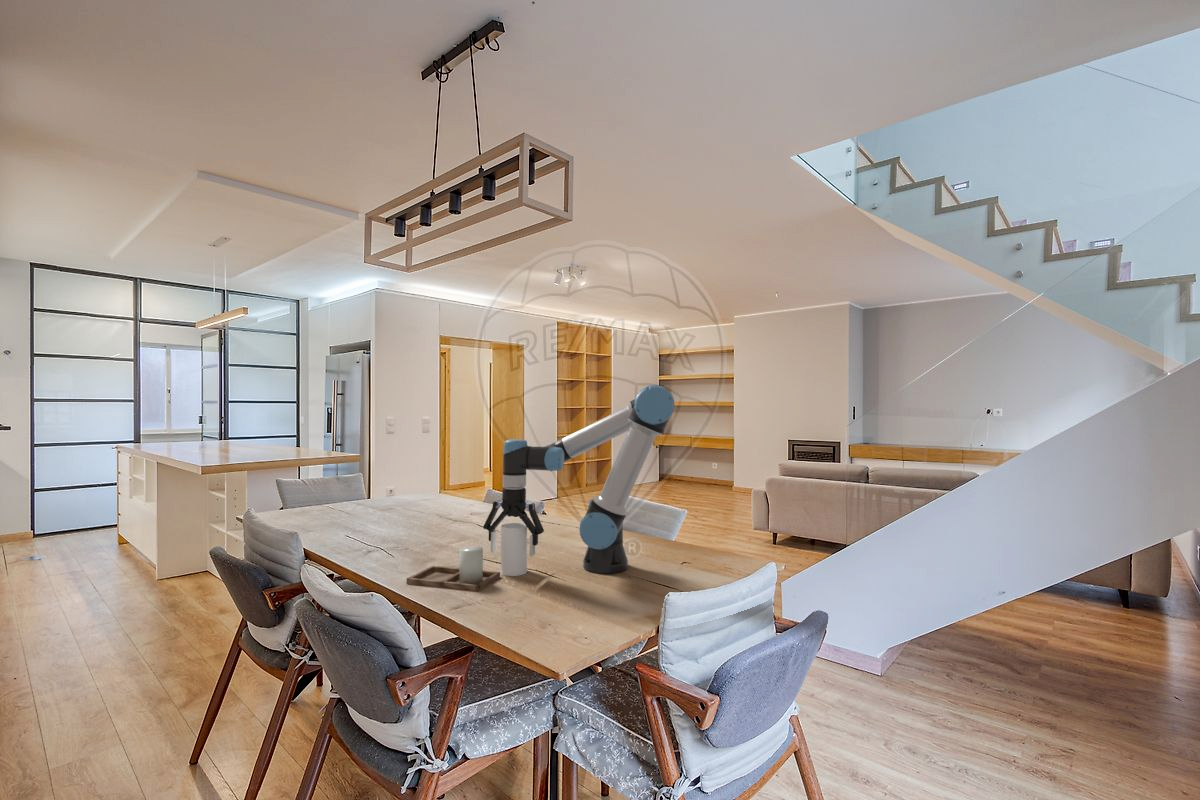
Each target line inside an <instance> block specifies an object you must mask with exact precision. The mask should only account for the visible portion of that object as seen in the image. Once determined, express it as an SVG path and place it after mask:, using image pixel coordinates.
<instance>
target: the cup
mask: <svg viewBox="0 0 1200 800" xmlns="http://www.w3.org/2000/svg"><path fill="white" fill-rule="evenodd" d="M500 531H501V533H500V547H501V548H500V575H502V576H507V577H517V576H523V575H525V574H527V569H528V564H527V563H528V528H527V526H526V525H525V523H524V522H523V523H521V522H511V523H509V522H508V523H504V524H501V527H500Z"/></svg>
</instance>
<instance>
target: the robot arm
mask: <svg viewBox="0 0 1200 800" xmlns="http://www.w3.org/2000/svg"><path fill="white" fill-rule="evenodd" d="M674 410H675V399H674V396H673V394H672V393H671V391H669V389H667V388H666V387H664V386H662V385H658V384H650V385H648V386H645V387H644V388H642V389H641V390H639V392H638V393H637V395H636V397H635V398H634V399H632V400H630V401H629V402H628V404H627V406H625V407H623V408H621V409H619V410H617V411H615V412H613V413H611V414H608V415H607V416H605V417H603V418H600V419H599V420H596V421H595V422H593V423H591V424H589V425H587V426H585V427H583V428H581V429H578V430H576V431H575V432H573V433H571V434H568V435H567V436H565V437H563V438H561V439H558V440H556V441H555V442H552V443H551V444H549V445H548V444H547V445H546V446H533V445H532V446H530V445H528V441H527V440H525V439H518V438H513V439H511V438H510V439H507V440H505V441H504V443H503V452H502V487H503V488H502V489H501V490H502V493H501V494H502V497H501V499H502V501H500V500H496V501H493V502H492V507H491V510H490V512H489V514H488V516H487V517H486V520H485V521H484V524H483V526H482V527H483V530H487V531H488V541H489V542H490V553H494V552H496V551H498V550H497V542H498V541H497V539H498V530H496V528H497V527H498V526H499V525H500V523H501V522H502V521H504V519H505V518H506V516H507V517H509V518H511V517H513V518H519V519H521V521H522V522H523V524H525V525H526V526H527V530H528V531H529V532H530V535H529V557H534V556H535V555H536V546H537V545H538V544H539V535H541V534H544V533H545V530H544V529H545V528H544V527H543V524H542V522H541V520H540V517H539V515H538V512H537V511H536V504H535V502H532V503H527V502H526V501H527V499H526V498H527V488H525V487H526V486H527V470H529V471H532V470H533V471H548V472H549V471H550V472H555V471H557V472H560V471H562V470H563V468H564V465H565V462H568V461H570V460H571V459H574V458H575V457H578V456H580V455H581V454H583V453H585V452H588V451H589V450H591V449H594V448H595V447H598V446H600V445H602V444H604V443H606V442H608V441H611V440H612V439H615V438H616V437H619V436H620V435H623V434H624V433H626V432H627V433H626V436H625V437H624V440H623V442H622V444H621V446H620V449H619V450H618V453H617V456H616V457H615V460H614V462H613V464H612V467H611V468H610V471H609V473H608V475H607V478H606V480H605V483H604V484H603V487H602V489H601V490H600V494H598V495H597V496H594V497H592V498H591V499H590V500H589V501H588V506H587V508H588V509H587V510H586V512H585V513H586V514H585V515H584V516H583V517H582V519H581V521H580V523H579V527H578V528H579V531H578V533H579V536H580V539H581V540H582V542H583V543H584V544H585V545H586V546H587V548H586V550H585V551H586V552H585V555H584V557H583V560H582V563H583V564H582V565H583V566H582V567H583V569H584V570H586V571H588V572H591V573H597V574H616V573H621V572H624V571H626V570H628V568H629V560H628V556H627V554H626V550H625V547H624V544H623V543H624V527H623V526H624V525H623V524H624V520H625V519H626V516H627V510H626V504H627V502H628V499H629V498H630V495H631V492H632V491H633V488H634V486H635V484H636V482H637V479H638V477H639V476H640V473H641V470H642V468H643V467H644V463H645V462H646V459H647V458H648V455H649V454H650V453H649V452H650V451H651V448H652V446H653V444H654V442H655V439H656V438H657V437H659V436H662V435H663V434H664V432H665V430H666V428H667V424H668V423H669V421H670V418H671V416H672V415H673V412H674ZM500 508H502V511H501V513H500V514H499V516H498V517H497V518H496V519H495V517H496V516H497V513H498V511H499V509H500ZM526 509H527V511H528V513H529V515H530V517H529V516H528V513H527V512H526V511H525V510H526ZM530 518H531V519H530ZM494 519H495V520H494Z"/></svg>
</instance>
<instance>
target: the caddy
mask: <svg viewBox="0 0 1200 800" xmlns="http://www.w3.org/2000/svg"><path fill="white" fill-rule="evenodd" d="M499 578H501V571H493V570H483V581H482V582H481V583H479V584H477V585H475V584H465V583H459V567H452V566H451V567H449V566H440V565H432V566H429V567H427V568H425V569H423V570H421V571H419V572H418V573H415V574H413V575H412V576H409V577H407V578H406V584H407V585H412V586H413V585H415V586H425V587H435V588H442V589H443V588H444V589H452V590H453V589H454V590H461V591H471V592H480V591H481V590H483V589H484V588H486V587H487V586H489V585H490V584H492V583H494V582H495V581H496V580H498V579H499Z"/></svg>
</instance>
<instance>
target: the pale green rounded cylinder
mask: <svg viewBox="0 0 1200 800" xmlns="http://www.w3.org/2000/svg"><path fill="white" fill-rule="evenodd" d="M458 552H459V555H458V561H459V562H458V565H459V566H458V568H459V583H465V584H475V585H477V584H479V583H481V582H482V581H483V571H484V565H483V564H484V548H483V547H482V546H479V545H478V546H477V545H469V546H464V547H460V548H459V550H458Z"/></svg>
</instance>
